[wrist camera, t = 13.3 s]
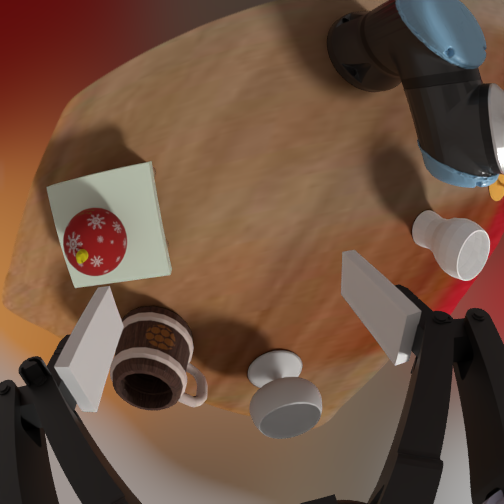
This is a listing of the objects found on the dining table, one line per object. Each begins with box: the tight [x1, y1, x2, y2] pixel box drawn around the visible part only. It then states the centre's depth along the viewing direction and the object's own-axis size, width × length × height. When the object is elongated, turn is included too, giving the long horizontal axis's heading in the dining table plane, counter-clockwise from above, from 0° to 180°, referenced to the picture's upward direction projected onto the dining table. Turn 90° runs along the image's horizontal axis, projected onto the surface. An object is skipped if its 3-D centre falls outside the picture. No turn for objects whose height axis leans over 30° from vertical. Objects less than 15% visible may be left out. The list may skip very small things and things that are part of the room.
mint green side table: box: [47, 161, 172, 288], centre depth 42 cm, size 16×16×8 cm
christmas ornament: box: [63, 208, 127, 276], centre depth 34 cm, size 9×9×10 cm
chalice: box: [248, 350, 322, 439], centre depth 55 cm, size 14×14×15 cm
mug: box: [110, 306, 207, 410], centre depth 49 cm, size 20×15×15 cm
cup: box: [412, 210, 490, 281], centre depth 48 cm, size 11×11×15 cm
